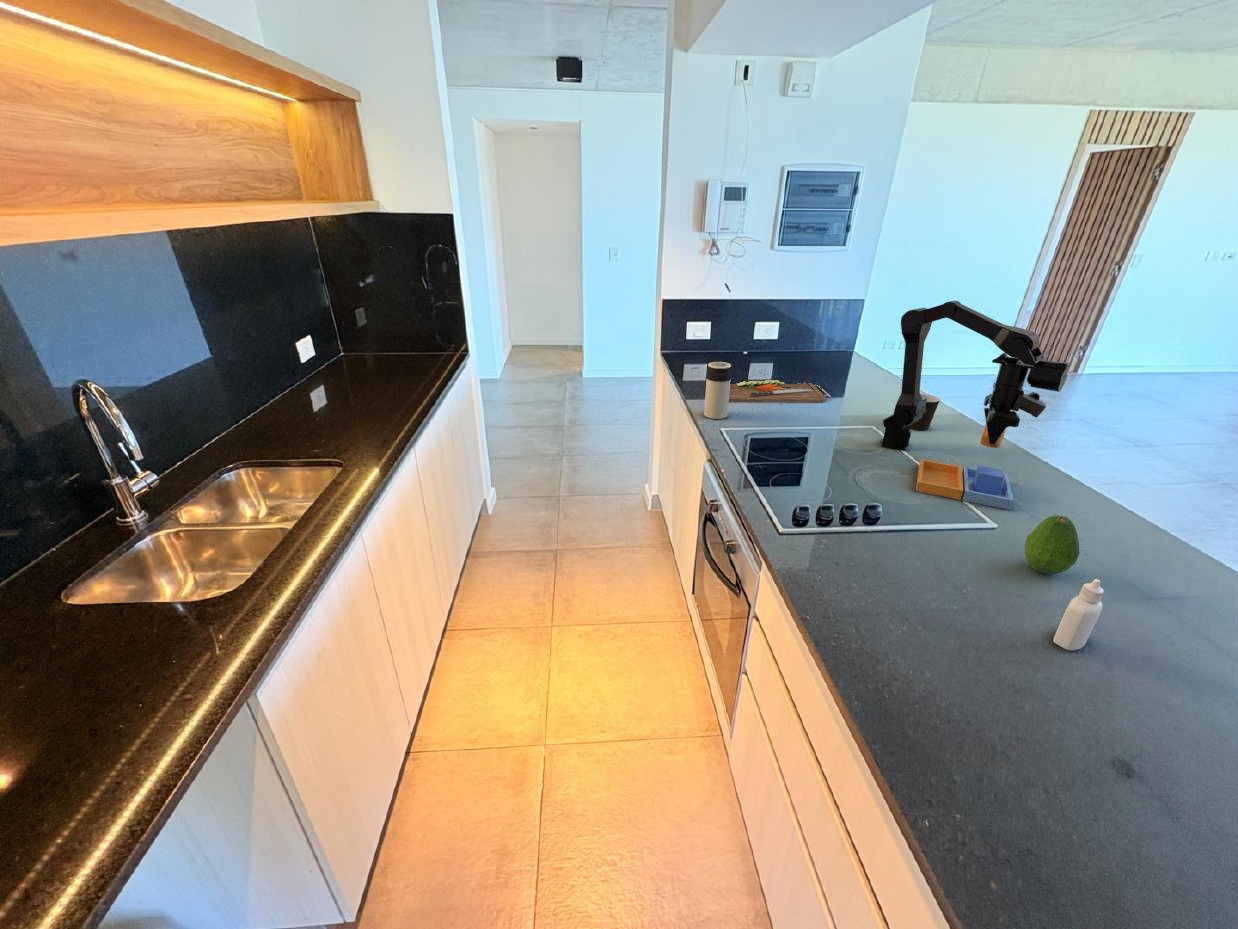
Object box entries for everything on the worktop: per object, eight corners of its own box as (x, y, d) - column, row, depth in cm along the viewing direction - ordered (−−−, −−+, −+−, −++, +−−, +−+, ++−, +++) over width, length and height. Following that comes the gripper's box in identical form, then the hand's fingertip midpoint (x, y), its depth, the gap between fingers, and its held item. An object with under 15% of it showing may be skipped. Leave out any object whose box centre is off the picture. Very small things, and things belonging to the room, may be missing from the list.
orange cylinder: (980, 445, 138) (985, 427, 136) (979, 440, 142) (984, 422, 139) (1001, 449, 136) (1007, 431, 134) (999, 443, 139) (1005, 425, 137)
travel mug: (717, 421, 177) (721, 368, 170) (699, 415, 183) (702, 364, 175) (732, 416, 182) (736, 364, 174) (714, 410, 187) (718, 360, 180)
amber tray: (915, 490, 131) (918, 481, 130) (918, 467, 144) (920, 459, 143) (960, 500, 127) (963, 490, 126) (959, 475, 139) (962, 466, 138)
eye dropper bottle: (1041, 631, 86) (1067, 571, 81) (1076, 632, 86) (1104, 572, 81) (1060, 651, 82) (1089, 589, 77) (1097, 652, 82) (1128, 590, 77)
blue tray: (962, 500, 127) (965, 490, 126) (961, 475, 139) (963, 466, 138) (1010, 510, 123) (1013, 500, 121) (1004, 483, 135) (1007, 474, 134)
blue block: (973, 491, 130) (979, 473, 128) (972, 483, 134) (978, 465, 132) (997, 496, 128) (1003, 477, 126) (996, 487, 132) (1002, 469, 129)
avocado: (1008, 564, 103) (1028, 511, 98) (1033, 555, 106) (1054, 503, 101) (1052, 588, 97) (1076, 532, 91) (1078, 577, 99) (1102, 522, 94)
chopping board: (813, 382, 219) (814, 375, 218) (835, 402, 195) (836, 394, 194) (704, 381, 221) (705, 374, 219) (713, 401, 196) (713, 393, 195)
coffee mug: (936, 432, 167) (944, 402, 163) (906, 430, 169) (913, 401, 165) (924, 420, 178) (931, 391, 173) (896, 418, 179) (903, 390, 175)
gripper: (1055, 397, 121) (1033, 459, 127) (1043, 378, 135) (1024, 435, 142) (997, 390, 126) (979, 450, 132) (992, 372, 140) (975, 427, 147)
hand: (991, 440), depth 138 cm, fingers closed on orange cylinder, 4 cm apart
